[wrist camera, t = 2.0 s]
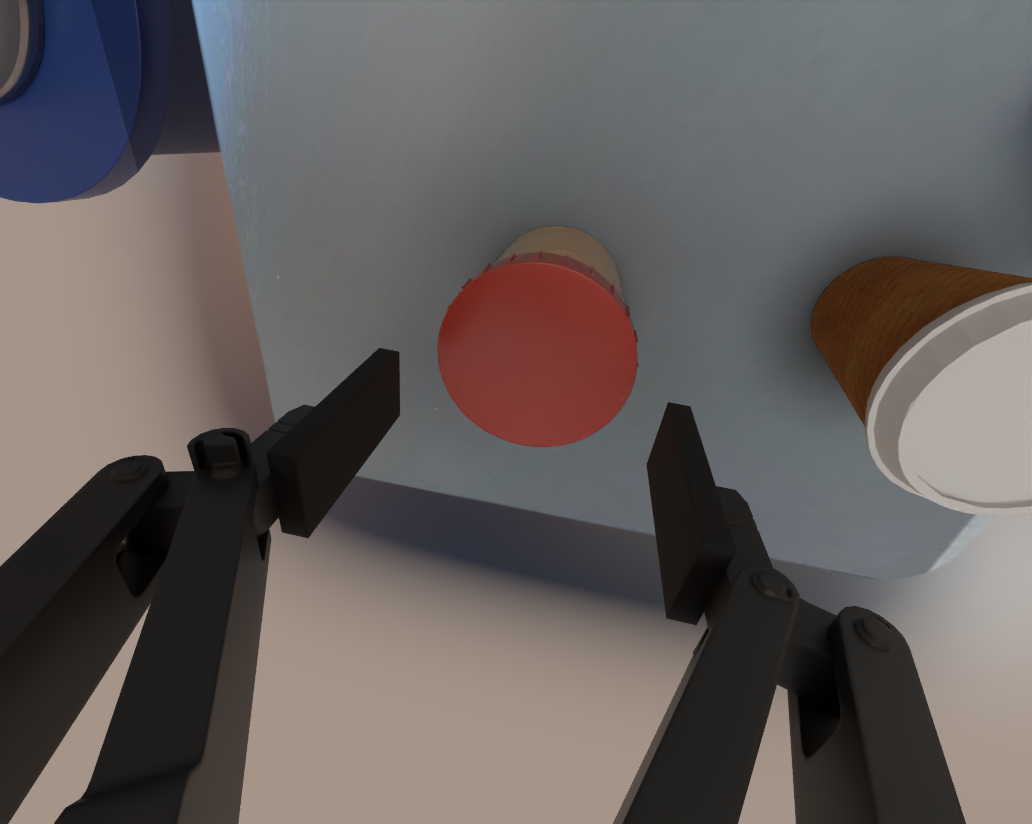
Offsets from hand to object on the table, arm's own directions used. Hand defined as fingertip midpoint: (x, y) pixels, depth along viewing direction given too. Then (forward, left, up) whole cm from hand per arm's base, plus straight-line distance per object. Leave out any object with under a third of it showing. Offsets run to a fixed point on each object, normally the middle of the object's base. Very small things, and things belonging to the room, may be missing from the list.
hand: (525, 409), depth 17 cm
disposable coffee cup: (+18, +2, -14) cm, 23 cm away
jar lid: (0, 0, -4) cm, 4 cm away
